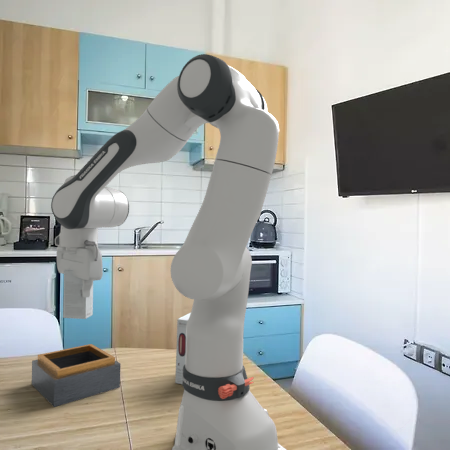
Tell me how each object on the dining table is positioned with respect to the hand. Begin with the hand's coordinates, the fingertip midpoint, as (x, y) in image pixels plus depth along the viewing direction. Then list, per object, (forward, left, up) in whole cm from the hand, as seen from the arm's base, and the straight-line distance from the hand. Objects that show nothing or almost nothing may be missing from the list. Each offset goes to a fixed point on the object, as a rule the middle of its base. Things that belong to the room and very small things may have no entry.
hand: (78, 294), depth 96 cm
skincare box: (0, 0, -6) cm, 6 cm away
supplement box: (-17, -26, -23) cm, 39 cm away
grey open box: (+2, 0, -23) cm, 23 cm away
